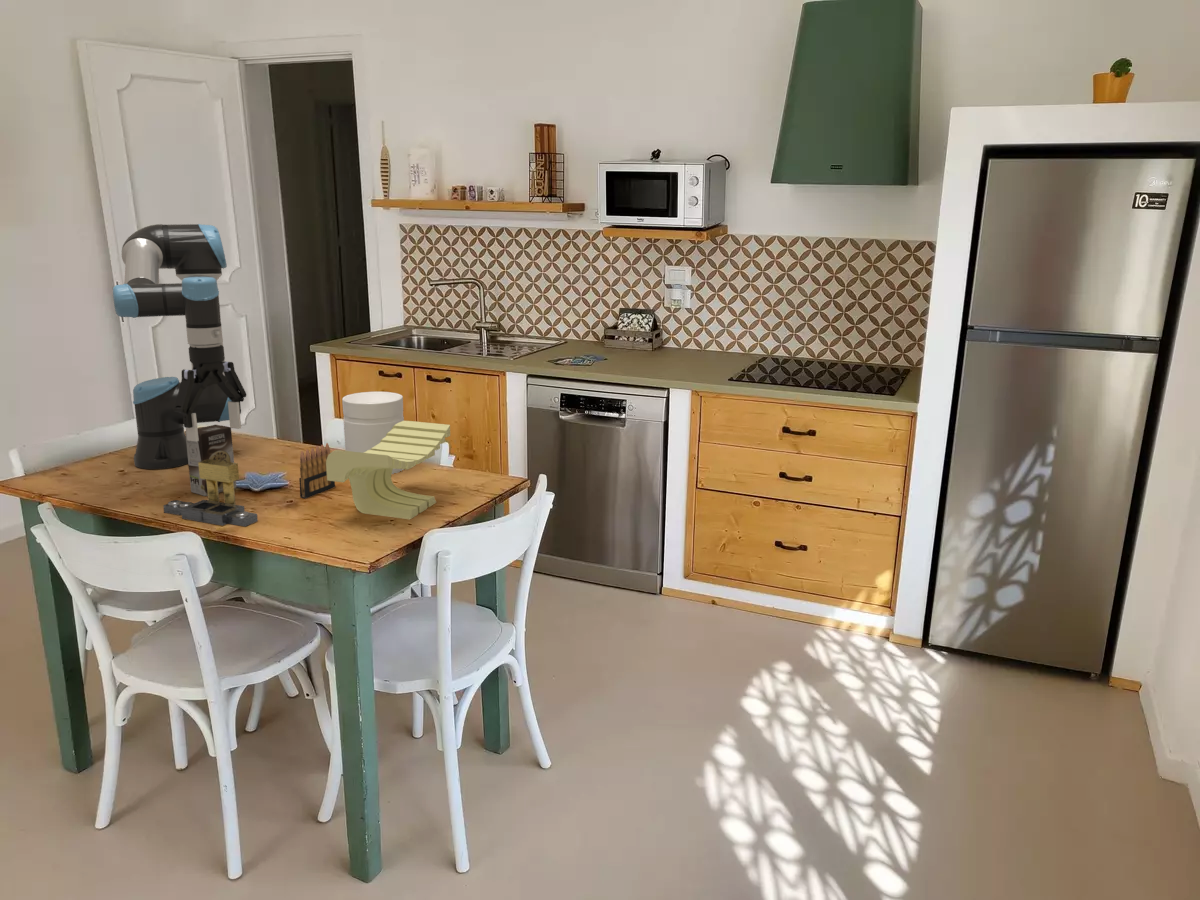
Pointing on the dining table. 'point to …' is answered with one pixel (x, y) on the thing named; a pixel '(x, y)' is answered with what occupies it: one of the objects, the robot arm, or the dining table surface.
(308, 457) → the ammunition clip
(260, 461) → the dining table surface
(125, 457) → the dining table surface
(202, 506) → the chain joint
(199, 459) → the coffee box
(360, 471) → the slatted curved stool
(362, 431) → the canister
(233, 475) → the tan piece
